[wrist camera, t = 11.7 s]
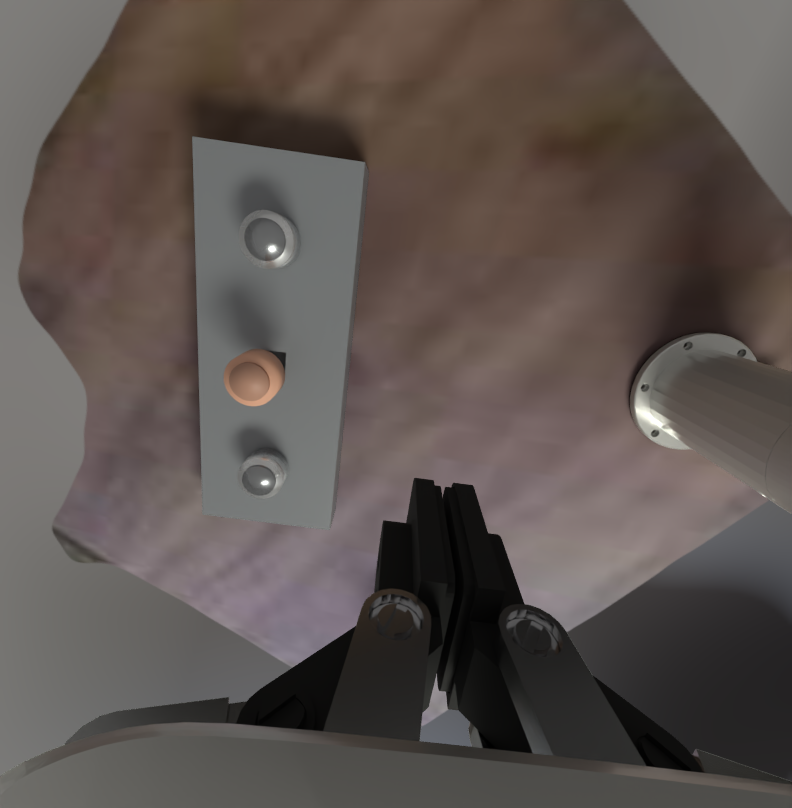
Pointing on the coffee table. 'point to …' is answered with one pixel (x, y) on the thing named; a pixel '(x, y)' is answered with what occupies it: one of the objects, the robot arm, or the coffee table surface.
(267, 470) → the knob
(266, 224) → the knob
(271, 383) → the knob middle
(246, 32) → the coffee table surface
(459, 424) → the coffee table surface
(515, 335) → the coffee table surface
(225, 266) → the knob panel
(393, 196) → the coffee table surface
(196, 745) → the robot arm
